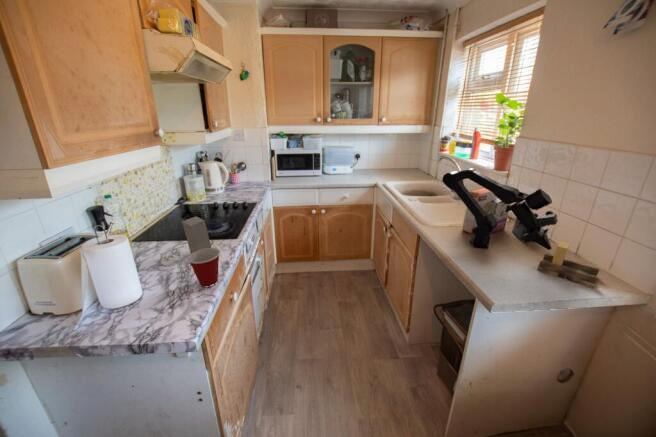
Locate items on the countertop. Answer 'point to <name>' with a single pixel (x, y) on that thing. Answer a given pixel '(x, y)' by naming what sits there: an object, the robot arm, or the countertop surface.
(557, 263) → the block
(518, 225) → the small box
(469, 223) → the cracker box
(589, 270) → the board
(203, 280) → the plastic cup
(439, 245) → the countertop surface
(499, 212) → the candy bar box
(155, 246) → the countertop surface
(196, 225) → the skincare box
